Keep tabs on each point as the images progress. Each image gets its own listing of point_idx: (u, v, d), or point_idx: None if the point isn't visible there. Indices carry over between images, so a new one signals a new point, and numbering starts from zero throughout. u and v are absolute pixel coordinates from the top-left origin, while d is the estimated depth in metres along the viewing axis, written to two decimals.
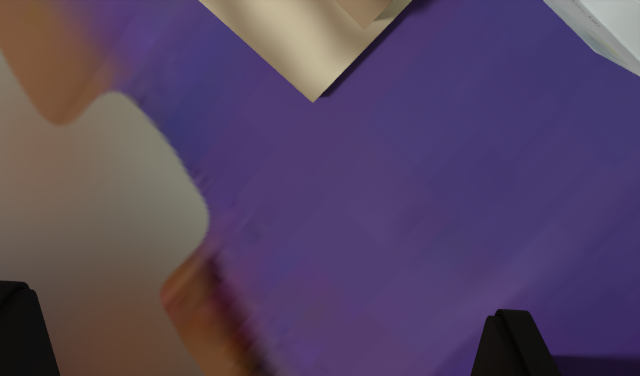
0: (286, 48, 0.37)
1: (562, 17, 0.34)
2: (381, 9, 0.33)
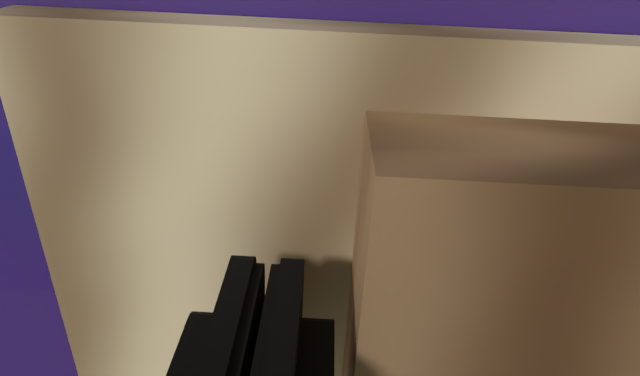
0: (125, 315, 0.13)
1: None
2: None
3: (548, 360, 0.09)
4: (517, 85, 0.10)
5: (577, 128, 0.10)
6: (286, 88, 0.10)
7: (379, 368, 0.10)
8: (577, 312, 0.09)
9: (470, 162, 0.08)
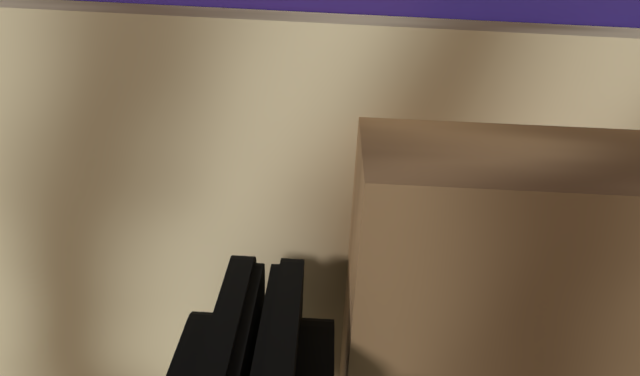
0: None
1: None
2: None
3: (537, 362, 0.10)
4: (227, 63, 0.10)
5: (566, 133, 0.10)
6: (4, 66, 0.10)
7: (372, 368, 0.10)
8: (564, 314, 0.09)
9: (458, 169, 0.08)
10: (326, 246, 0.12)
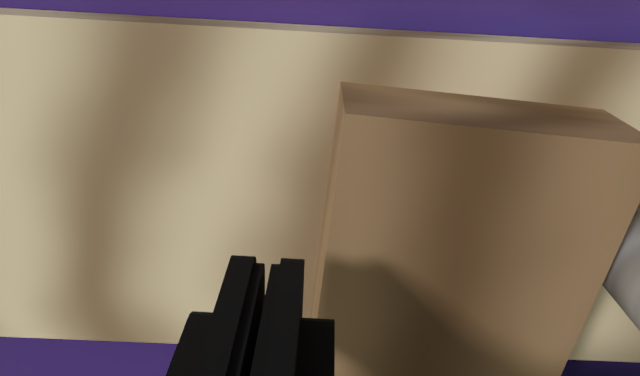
0: None
1: None
2: None
3: (457, 255, 0.14)
4: (221, 58, 0.14)
5: (484, 100, 0.14)
6: (60, 60, 0.14)
7: (342, 258, 0.14)
8: (475, 217, 0.13)
9: (407, 111, 0.12)
10: (294, 197, 0.16)
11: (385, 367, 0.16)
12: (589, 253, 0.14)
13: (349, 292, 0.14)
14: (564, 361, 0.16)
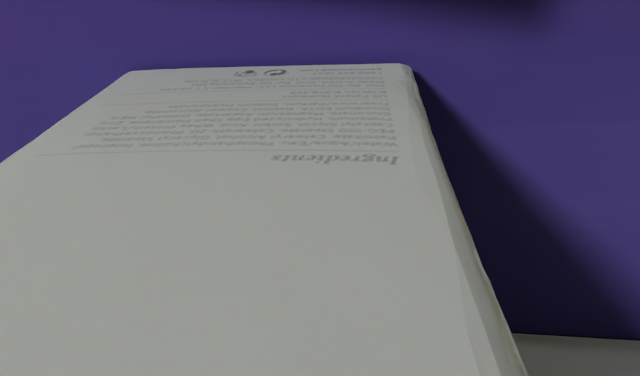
0: None
1: None
2: None
3: None
4: None
5: None
6: None
7: None
8: None
9: None
10: None
11: None
12: None
13: None
14: None
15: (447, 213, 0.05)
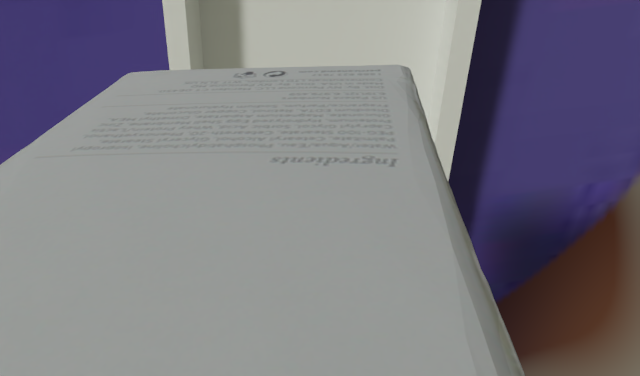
0: None
1: None
2: None
3: None
4: None
5: None
6: None
7: None
8: None
9: None
10: None
11: None
12: None
13: None
14: None
15: (446, 215, 0.05)
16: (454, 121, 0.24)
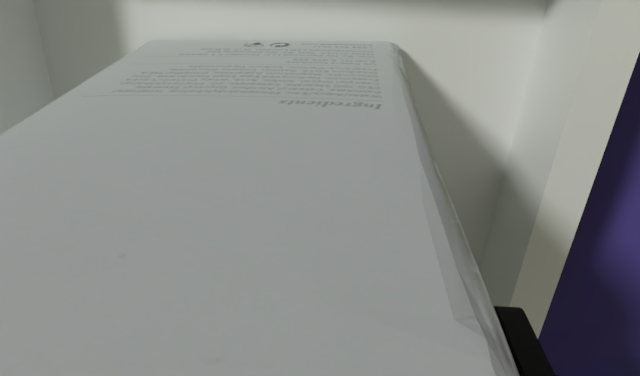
0: None
1: None
2: None
3: None
4: None
5: None
6: None
7: None
8: None
9: None
10: None
11: None
12: None
13: None
14: None
15: (416, 140, 0.07)
16: (546, 286, 0.12)
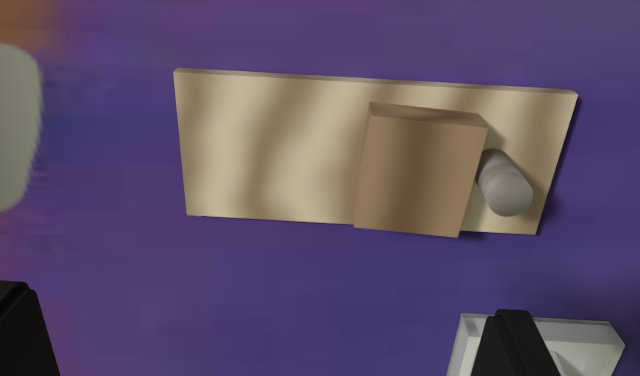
0: (204, 169, 0.39)
1: None
2: (376, 227, 0.37)
3: (414, 170, 0.35)
4: (321, 92, 0.36)
5: (427, 109, 0.36)
6: (257, 92, 0.36)
7: (369, 171, 0.35)
8: (420, 155, 0.34)
9: (394, 114, 0.34)
10: (348, 149, 0.38)
11: (386, 221, 0.37)
12: (466, 169, 0.35)
13: (371, 186, 0.36)
14: (462, 219, 0.37)
15: None
16: None
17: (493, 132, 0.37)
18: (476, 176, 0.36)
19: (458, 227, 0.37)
